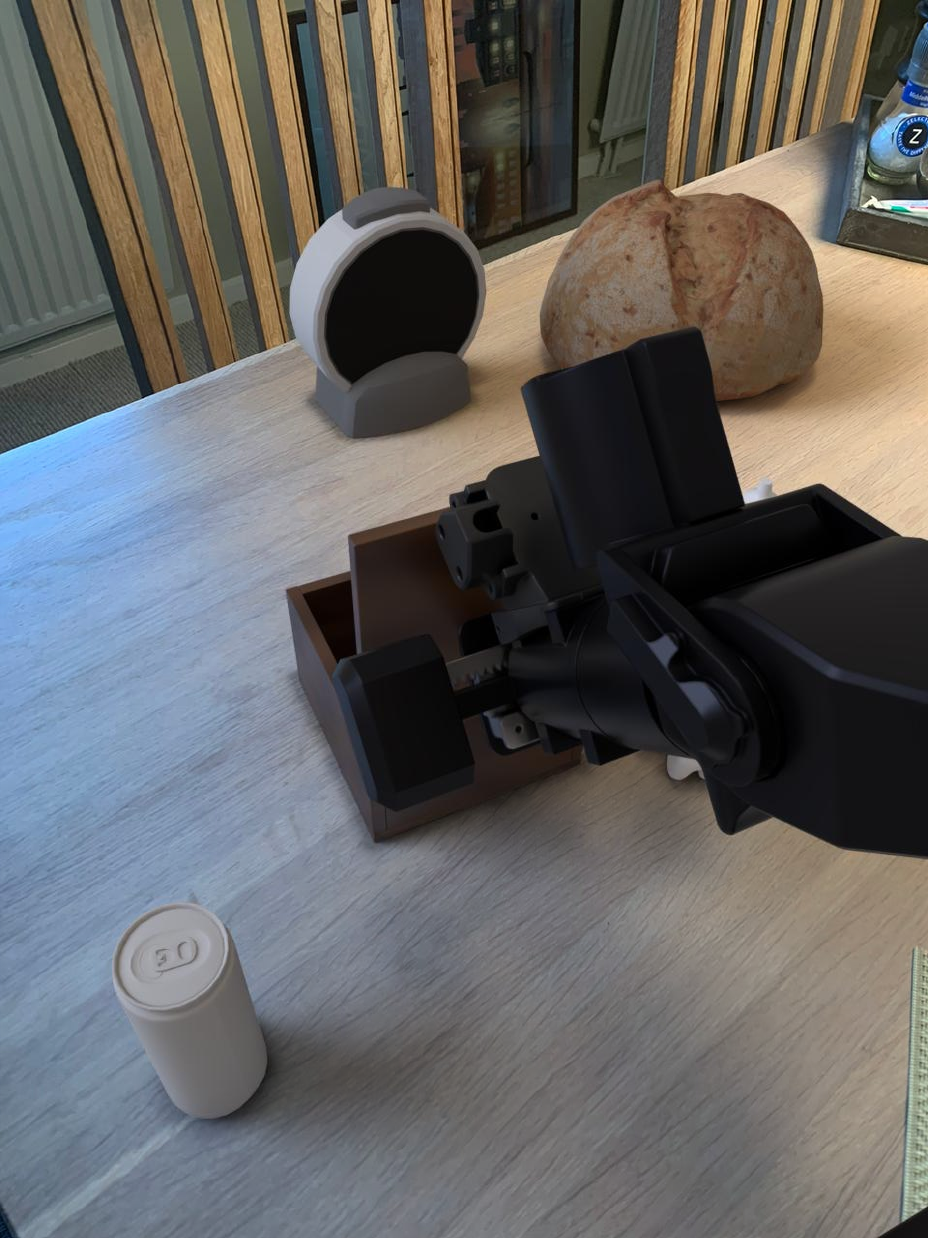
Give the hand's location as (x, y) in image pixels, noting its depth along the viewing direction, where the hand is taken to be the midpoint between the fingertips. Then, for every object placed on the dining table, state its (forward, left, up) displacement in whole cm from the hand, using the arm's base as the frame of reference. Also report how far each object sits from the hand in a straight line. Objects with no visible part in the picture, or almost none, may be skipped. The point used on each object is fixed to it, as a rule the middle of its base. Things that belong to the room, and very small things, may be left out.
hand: (495, 665), depth 49 cm
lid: (+1, +1, +3) cm, 3 cm away
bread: (+56, -3, -13) cm, 57 cm away
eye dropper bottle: (+21, -12, -13) cm, 27 cm away
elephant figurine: (+8, -11, -13) cm, 19 cm away
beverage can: (-18, +8, -13) cm, 24 cm away
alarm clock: (+40, +20, -13) cm, 47 cm away
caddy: (+6, +5, -13) cm, 15 cm away
